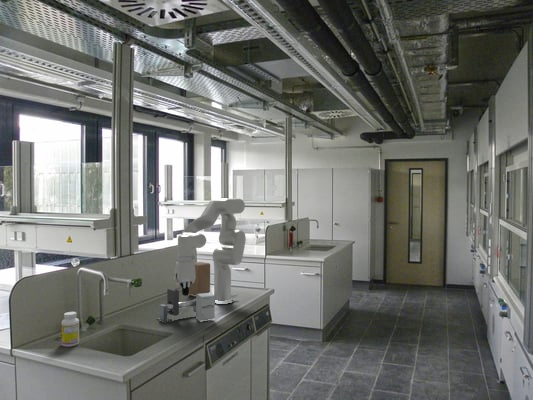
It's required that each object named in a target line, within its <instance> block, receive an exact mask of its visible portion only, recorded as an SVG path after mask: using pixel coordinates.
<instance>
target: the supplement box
mask: <svg viewBox="0 0 533 400" xmlns="http://www.w3.org/2000/svg"><path fill="white" fill-rule="evenodd" d="M195 299H196V317H197V318H198V319H199V320H208V319H213V318H216V317H215V315H216V307H215V305H216V304H215V295H214V293H211V292H210V293H203V294H196V297H195ZM196 317H195V318H196Z"/></svg>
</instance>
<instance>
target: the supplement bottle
mask: <svg viewBox="0 0 533 400" xmlns="http://www.w3.org/2000/svg"><path fill="white" fill-rule="evenodd" d="M77 316H78V315H77V311H68V312H65V313H64V314H63V317H64V319H62V320H61V325H60V326H61V346H62V347H65V348H66V347H70V348H71V347H74V346H77V345H78V344H79V343H80V320H79V318H78V317H77Z"/></svg>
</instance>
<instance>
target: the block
mask: <svg viewBox="0 0 533 400" xmlns="http://www.w3.org/2000/svg"><path fill="white" fill-rule="evenodd" d="M194 264H195V272H196V278H195V282H194V283H192V284H191V285H190V287H189V293H188V294H193V295H196V294H203V293H209V292H210V293H211V263H208V262H202V261H199V262H198V261H197V262H194Z"/></svg>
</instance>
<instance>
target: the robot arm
mask: <svg viewBox="0 0 533 400" xmlns="http://www.w3.org/2000/svg"><path fill="white" fill-rule="evenodd" d="M245 208H246V204H245V201H244V200H243V199H241V198H228V197H226V198H225V197H223V198H221V197H220V198H219V197H218V198H213V199H211V200H210V201H209V203H207V205H206V207H205V208H204V210H203V211H202V213H201V215H200V216H198V217H197V218H195V219H194V220H193V221H191V222H190V223H188V224H187V225H186V226H185V228H184V229H183V230H182V232H181V234H179V235H178V237H177V261H176V262H175V266H174V267H175V268H174V283H175V285H177V286H180V287H181V293H182V295H183V296H184V297H186V296H187V297H189V296H188V293H189V287H190V285H191V284H192V283H194V282H195V278H196V272H195V264H194V263H195V261H194V259H196V257H195V255H194V249H200V248H203V247H204V246H205V245H206V243H207V237H206V236H205V234H202V233H199V232H200V231H202V230H205V229H208V228H211V227H213V226H214V225H215V223H216V222H217V220H218V218H219V216H220V217H221V225H220V226H221V227H220V230H219V235H218V243H219V244H220V245H222V246H221V247H220V246H219V247H216V248H215V249H214V250H213V251H212V261H213V267H214V270H213V271H214V273H213V274H214V277H213V278H214V279H213V280H214V281H213V282H214V285H213V287H214V289H213V295H215V300H218V301H225V300H229V299H231V298H232V299H234V298H237V297H238V296H239V295H238V293H234V294H233V293H232V270H231V268H230V266H238V265H240V264H241V263H242V261H243V257H244V251H245V246H246V240H247V238H246V233H245V232H244V231H243V230H241V229H236V228H237V219H236V217H235V214H241V213H244V211H245ZM223 246H228V247H223ZM229 246H231V247H229Z"/></svg>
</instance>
